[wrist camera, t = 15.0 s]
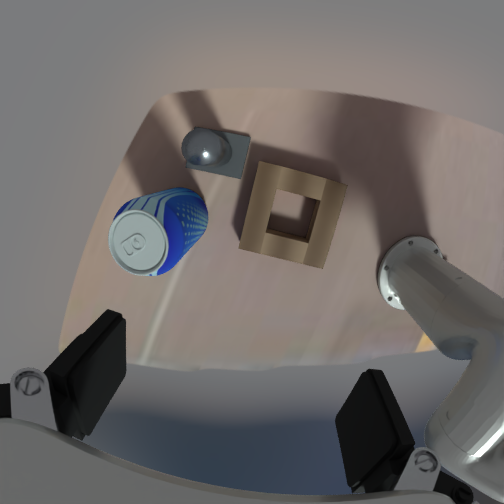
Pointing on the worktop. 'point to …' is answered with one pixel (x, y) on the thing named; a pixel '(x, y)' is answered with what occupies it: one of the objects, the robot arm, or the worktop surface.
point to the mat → (237, 159)
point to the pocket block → (286, 244)
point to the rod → (206, 148)
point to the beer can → (157, 230)
